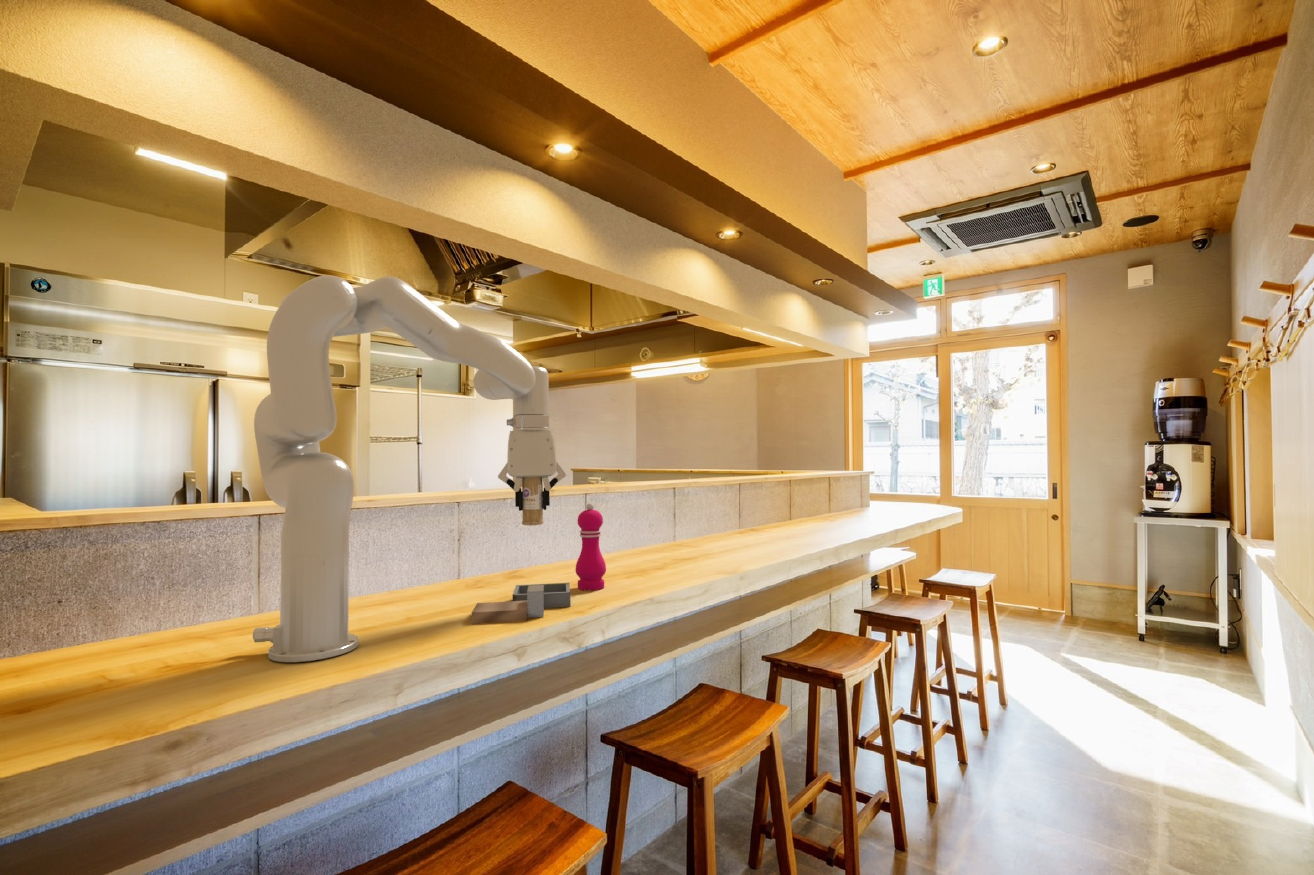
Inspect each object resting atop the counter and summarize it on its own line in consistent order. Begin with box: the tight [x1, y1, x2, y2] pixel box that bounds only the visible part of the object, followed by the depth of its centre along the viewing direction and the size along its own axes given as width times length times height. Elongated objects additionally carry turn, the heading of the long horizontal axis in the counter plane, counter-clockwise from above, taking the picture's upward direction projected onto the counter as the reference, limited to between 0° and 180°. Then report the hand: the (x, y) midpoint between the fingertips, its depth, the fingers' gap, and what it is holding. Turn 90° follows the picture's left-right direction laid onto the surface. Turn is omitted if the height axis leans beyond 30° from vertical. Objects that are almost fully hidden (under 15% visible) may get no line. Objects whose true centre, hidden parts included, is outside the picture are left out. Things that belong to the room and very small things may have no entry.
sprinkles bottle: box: [521, 477, 544, 527], centre depth 130 cm, size 5×5×13 cm
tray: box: [512, 582, 571, 609], centre depth 129 cm, size 12×11×3 cm
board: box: [471, 600, 528, 625], centre depth 118 cm, size 10×8×2 cm
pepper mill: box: [574, 502, 607, 591], centre depth 144 cm, size 7×7×20 cm
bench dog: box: [527, 584, 545, 619], centre depth 120 cm, size 3×6×5 cm, turn 9°
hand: (532, 508), depth 130 cm, fingers closed on sprinkles bottle, 4 cm apart
